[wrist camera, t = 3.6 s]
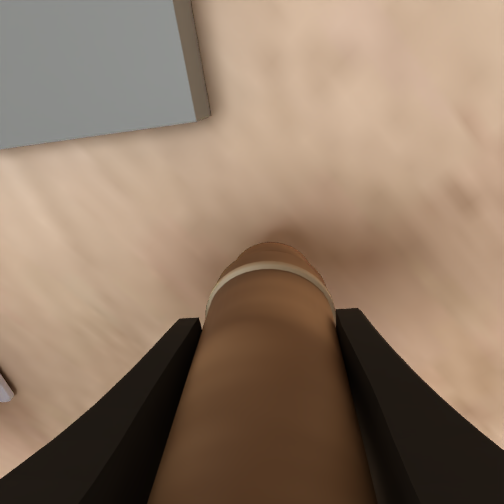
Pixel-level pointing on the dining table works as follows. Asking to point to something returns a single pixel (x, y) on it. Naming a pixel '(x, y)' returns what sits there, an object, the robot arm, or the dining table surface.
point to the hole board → (97, 68)
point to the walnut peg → (266, 396)
